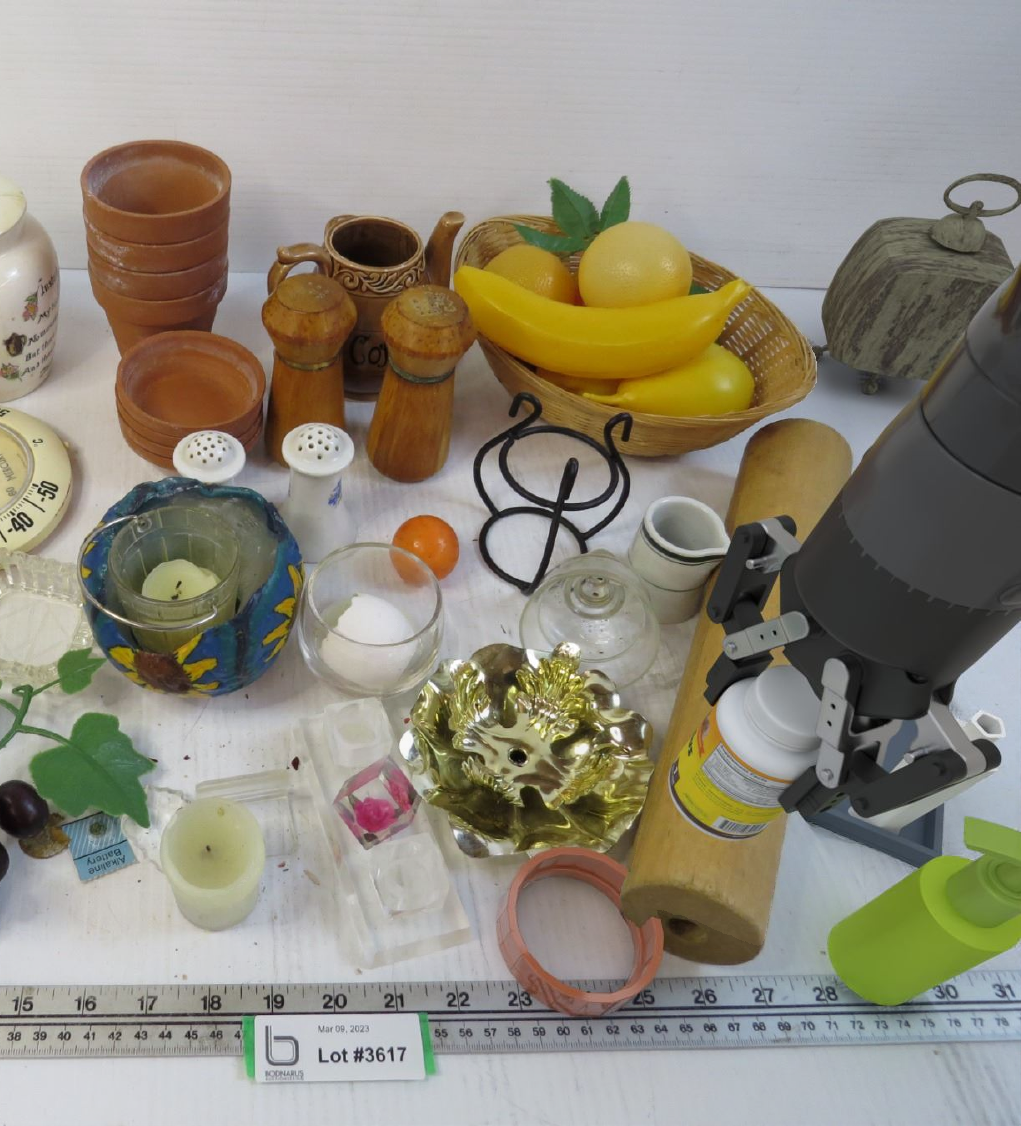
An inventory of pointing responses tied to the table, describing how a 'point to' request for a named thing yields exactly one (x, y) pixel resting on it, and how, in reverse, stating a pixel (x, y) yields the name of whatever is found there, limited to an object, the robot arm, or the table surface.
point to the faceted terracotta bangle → (529, 971)
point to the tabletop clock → (914, 289)
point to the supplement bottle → (747, 754)
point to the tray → (909, 845)
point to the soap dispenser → (934, 920)
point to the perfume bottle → (896, 819)
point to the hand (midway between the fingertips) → (758, 747)
